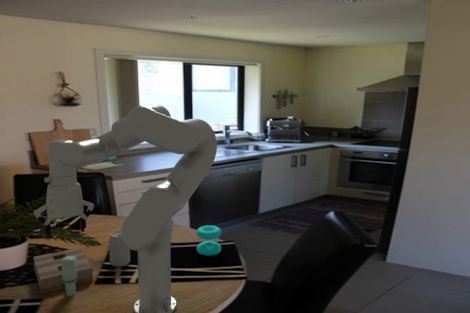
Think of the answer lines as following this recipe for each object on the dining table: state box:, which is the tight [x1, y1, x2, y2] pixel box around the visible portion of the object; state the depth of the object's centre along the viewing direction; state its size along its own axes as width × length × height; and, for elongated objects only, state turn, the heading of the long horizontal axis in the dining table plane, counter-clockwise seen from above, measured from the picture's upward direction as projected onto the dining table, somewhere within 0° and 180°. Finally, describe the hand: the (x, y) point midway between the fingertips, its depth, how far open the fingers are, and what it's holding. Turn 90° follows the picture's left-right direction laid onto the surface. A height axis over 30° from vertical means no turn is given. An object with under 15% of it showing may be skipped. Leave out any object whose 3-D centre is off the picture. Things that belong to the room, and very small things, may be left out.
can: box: [108, 230, 131, 268], centre depth 146 cm, size 8×8×12 cm
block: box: [32, 247, 94, 295], centre depth 137 cm, size 20×16×5 cm
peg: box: [61, 256, 78, 297], centre depth 124 cm, size 4×4×12 cm
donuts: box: [196, 225, 222, 257], centre depth 158 cm, size 10×10×10 cm
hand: (66, 233), depth 121 cm, fingers open, 9 cm apart
